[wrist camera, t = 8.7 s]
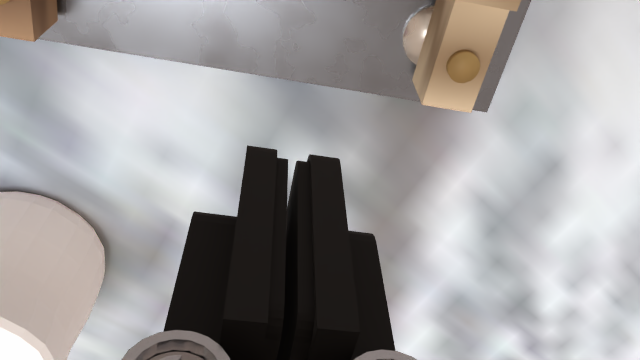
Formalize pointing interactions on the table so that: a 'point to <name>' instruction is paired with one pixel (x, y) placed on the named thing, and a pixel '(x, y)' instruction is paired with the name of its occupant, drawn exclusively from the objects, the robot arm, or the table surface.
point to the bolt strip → (278, 38)
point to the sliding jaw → (459, 51)
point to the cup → (45, 276)
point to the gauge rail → (27, 18)
